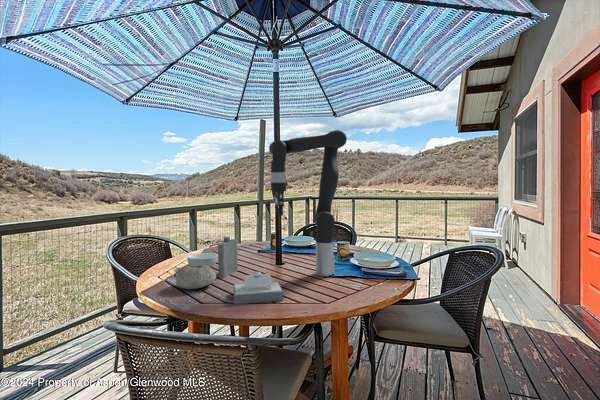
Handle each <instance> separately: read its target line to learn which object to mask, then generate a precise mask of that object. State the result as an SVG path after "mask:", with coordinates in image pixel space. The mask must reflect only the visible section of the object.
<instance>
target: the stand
mask: <svg viewBox="0 0 600 400" xmlns="http://www.w3.org/2000/svg"><path fill="white" fill-rule="evenodd" d="M277 301H280V302H281V301H284V291H283V288H282V286H281V285H280V283H279V281H271V289H258V290H249V291H245V288H244V283H241V284H234V285H233V305H240V304H241V305H243V304H253V303H254V304H255V303H265V302H266V303H268V302H277Z"/></svg>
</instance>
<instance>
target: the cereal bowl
mask: <svg viewBox="0 0 600 400" xmlns="http://www.w3.org/2000/svg"><path fill="white" fill-rule="evenodd" d="M217 262H218V253H215V252H199V253H194V254H189V255H188V256H187V263H188V265H189V266H190V265H195V266H196V265H205V266H208V267H211V268H212V267H213V266H215V265H216V264H217Z"/></svg>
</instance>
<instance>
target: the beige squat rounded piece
mask: <svg viewBox="0 0 600 400" xmlns="http://www.w3.org/2000/svg"><path fill="white" fill-rule="evenodd" d="M216 279H217V274H216V272H215V270H214V269H213V267H212V266H211V267H208V266H205V265H196V266H195V265H190V264H189V265H187V266H185V267H182V268H181V269H179V270H178V272H177V274H176V276H175V281H176V284H177V286H178V287H179V288H181V289H182V288H183V289H185V290H197V289H201V288H203V287H207V286H209V285H211V284H213V283H214V282H215V281H216Z"/></svg>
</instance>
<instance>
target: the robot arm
mask: <svg viewBox="0 0 600 400" xmlns="http://www.w3.org/2000/svg"><path fill="white" fill-rule="evenodd" d="M347 140H348V139H347V135H346V133H345V132H344V131H342V130H341V129H340V130H339V129H336V130H332V131H329V132H327V133H326V134H322V135H314V136H313V135H312V136H303V137H302V136H301V137H295V138H291V139H287V140H281V139H277V140H274V141H273V142H271V143H270V144H269V147H268V150H269V153H270V154H271V155H272V161H271V163H270V191H271V192H274V206H275V214H277V215H278V216H281V217H282V216H284V208H285V201H284V200H285V199H284V194H283V193H284V192H286V191H287V175H286V159H287V154H293V153H294V154H295V153H296V154H297V153H301V152H308V151H312V150H316V149H317V150H318V149H322V148H323V159H322V160H323V161H322V166H321V171H320V172H321V173H320V174H321V175H320V180H319V187H318V188H319V190H318V202H317V206H316V211H315V214H314V223H315V225H316V236H315V275H316V276H320V277H330V276H329V275H331V276H333V275H332V274H334V275H335V256H334V237H335V218H334V216H333V214H332V204H333V200H334V197H335V195H336V192H337V188H338V185H339V184H338V183H339V176H340V175H339V168H338V162H337V160H338V159H337V157H338V151H339V149H340V148H343V147H344V146H345V145H346V143H347Z"/></svg>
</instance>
